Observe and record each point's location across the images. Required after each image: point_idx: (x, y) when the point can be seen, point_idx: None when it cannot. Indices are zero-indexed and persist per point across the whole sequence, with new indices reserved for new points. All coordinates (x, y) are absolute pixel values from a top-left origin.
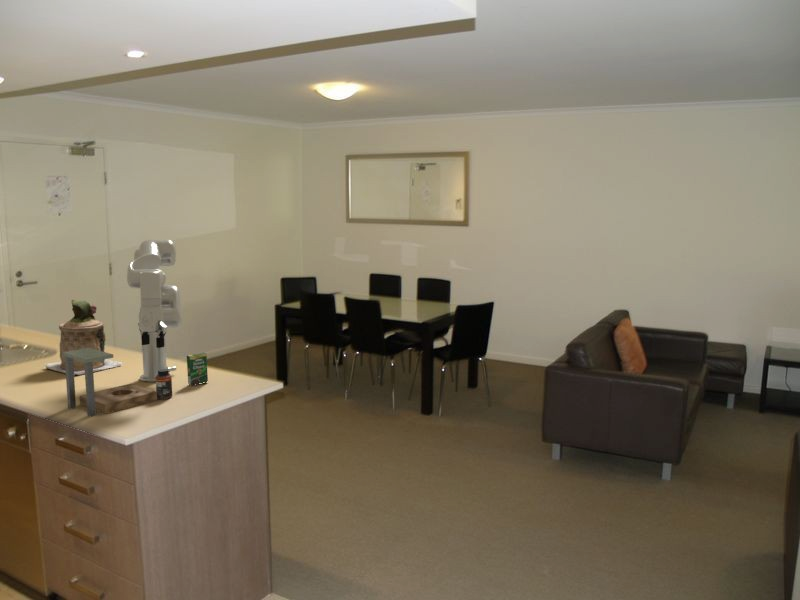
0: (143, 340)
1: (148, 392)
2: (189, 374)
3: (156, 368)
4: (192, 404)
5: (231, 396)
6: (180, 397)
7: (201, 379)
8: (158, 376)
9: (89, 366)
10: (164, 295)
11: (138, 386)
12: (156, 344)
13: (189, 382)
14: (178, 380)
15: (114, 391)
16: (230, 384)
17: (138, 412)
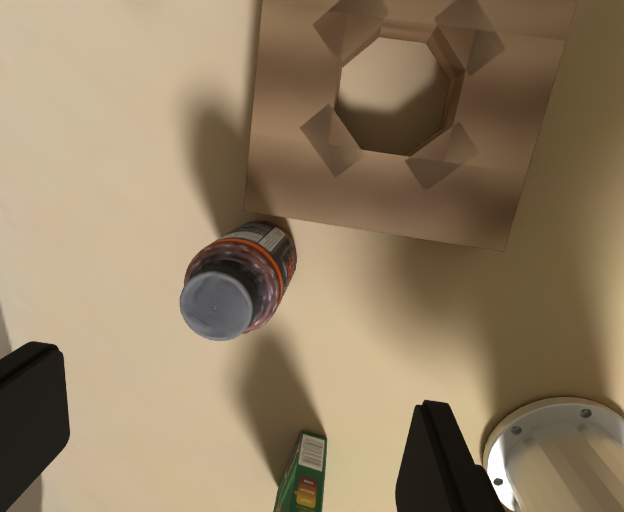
0: (432, 470)
1: (266, 175)
2: (304, 475)
3: (546, 483)
4: (79, 242)
5: None
6: None
7: (281, 485)
8: (226, 254)
9: None
10: None
11: (414, 232)
12: (5, 368)
13: (312, 444)
14: None
15: (462, 82)
16: (189, 507)
17: (166, 12)
